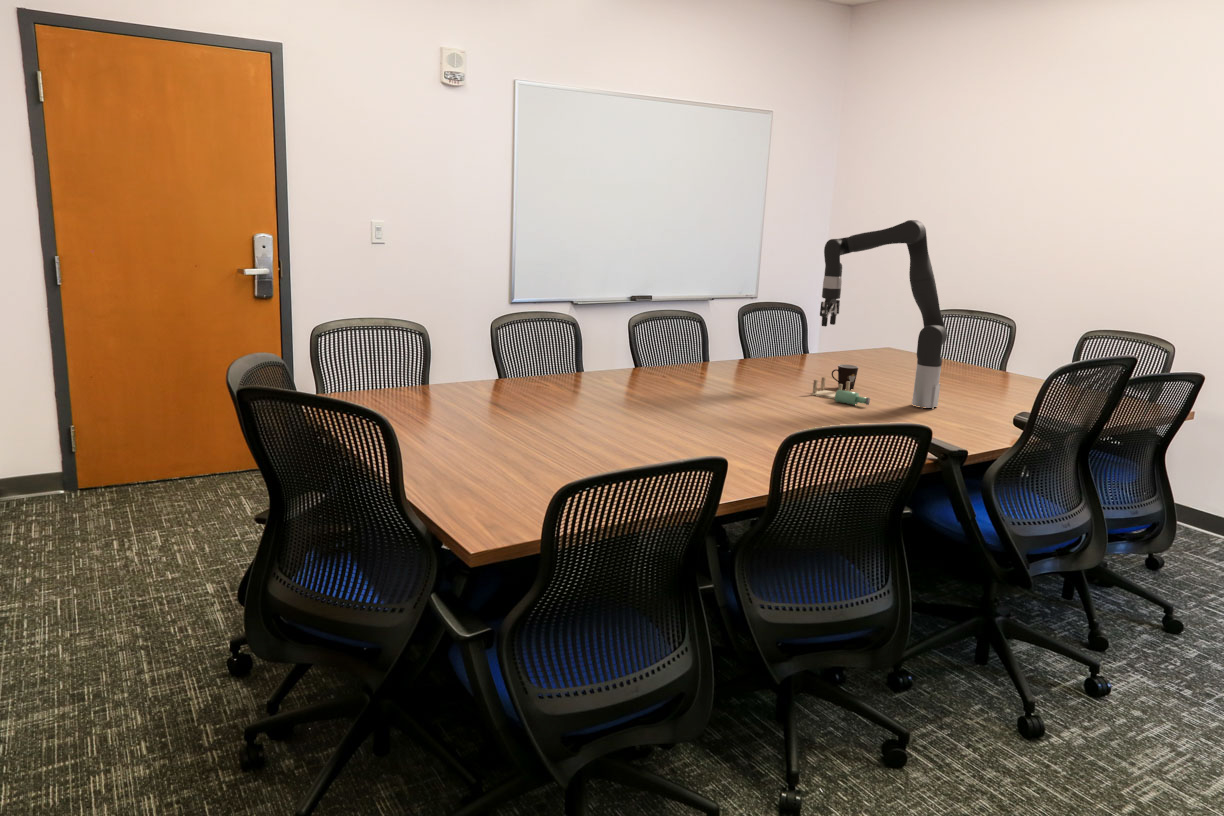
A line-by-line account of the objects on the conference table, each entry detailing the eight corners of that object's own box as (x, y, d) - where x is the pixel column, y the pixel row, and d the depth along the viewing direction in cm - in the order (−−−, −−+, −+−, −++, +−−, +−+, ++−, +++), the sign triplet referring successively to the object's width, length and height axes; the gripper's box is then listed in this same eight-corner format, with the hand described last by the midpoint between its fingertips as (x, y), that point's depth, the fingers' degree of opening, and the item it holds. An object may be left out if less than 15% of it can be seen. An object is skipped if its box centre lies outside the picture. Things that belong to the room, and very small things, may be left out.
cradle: (849, 396, 365) (851, 381, 363) (840, 400, 357) (842, 384, 356) (820, 391, 372) (822, 376, 371) (811, 395, 365) (812, 379, 363)
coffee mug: (854, 387, 384) (856, 365, 382) (857, 391, 376) (860, 368, 374) (827, 385, 385) (829, 363, 383) (830, 389, 377) (832, 367, 375)
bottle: (870, 406, 349) (871, 393, 348) (865, 408, 345) (866, 396, 344) (839, 400, 356) (840, 388, 355) (834, 403, 352) (835, 390, 351)
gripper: (833, 288, 359) (829, 328, 362) (847, 286, 370) (843, 324, 373) (816, 287, 363) (813, 325, 367) (830, 285, 374) (827, 323, 378)
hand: (828, 325), depth 370 cm, fingers open, 8 cm apart
